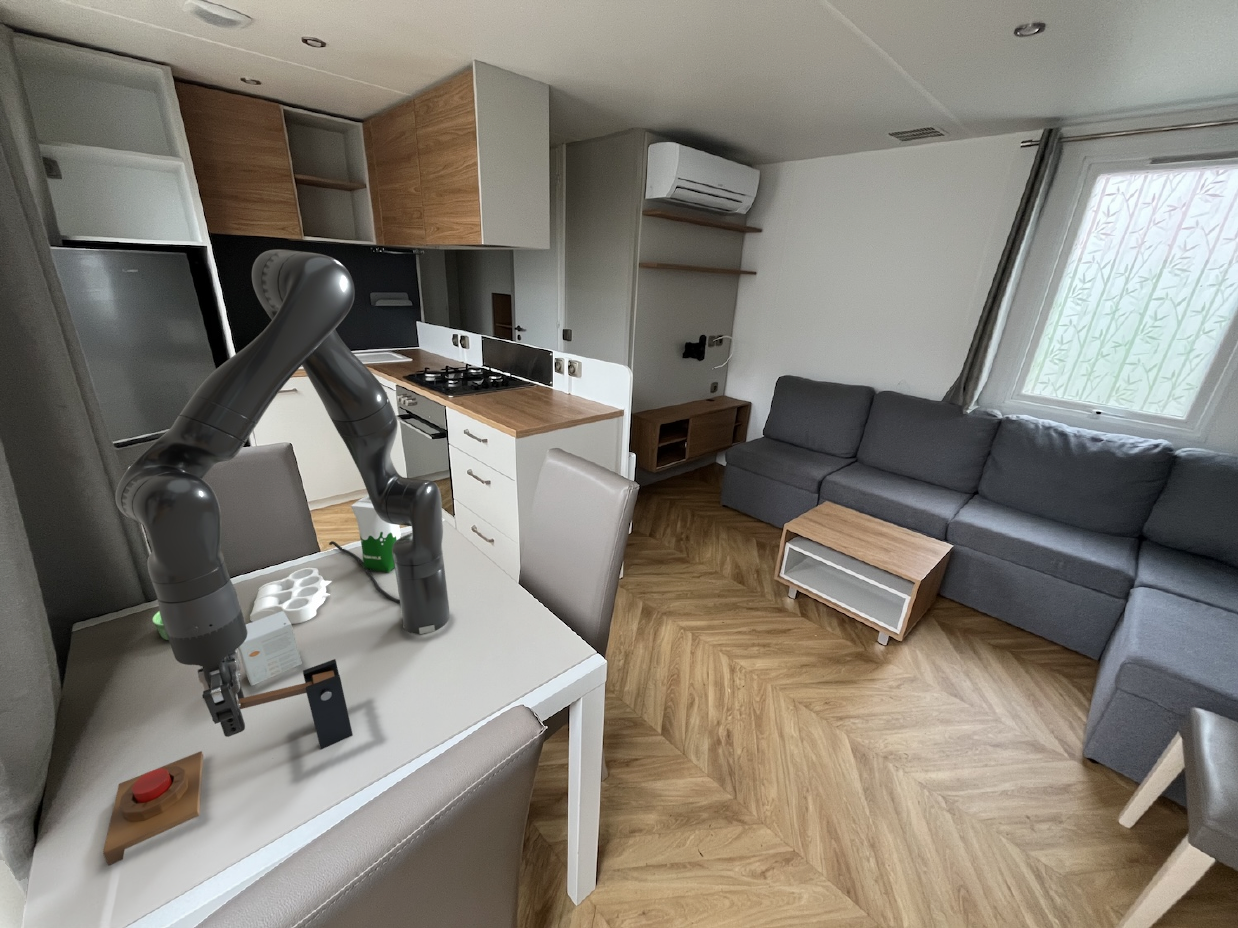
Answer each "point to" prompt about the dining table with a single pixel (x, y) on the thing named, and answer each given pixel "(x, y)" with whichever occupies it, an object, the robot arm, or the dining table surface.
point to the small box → (269, 648)
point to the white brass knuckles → (292, 596)
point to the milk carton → (375, 536)
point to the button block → (154, 808)
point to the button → (151, 785)
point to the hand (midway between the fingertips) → (235, 717)
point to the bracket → (328, 705)
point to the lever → (282, 692)
